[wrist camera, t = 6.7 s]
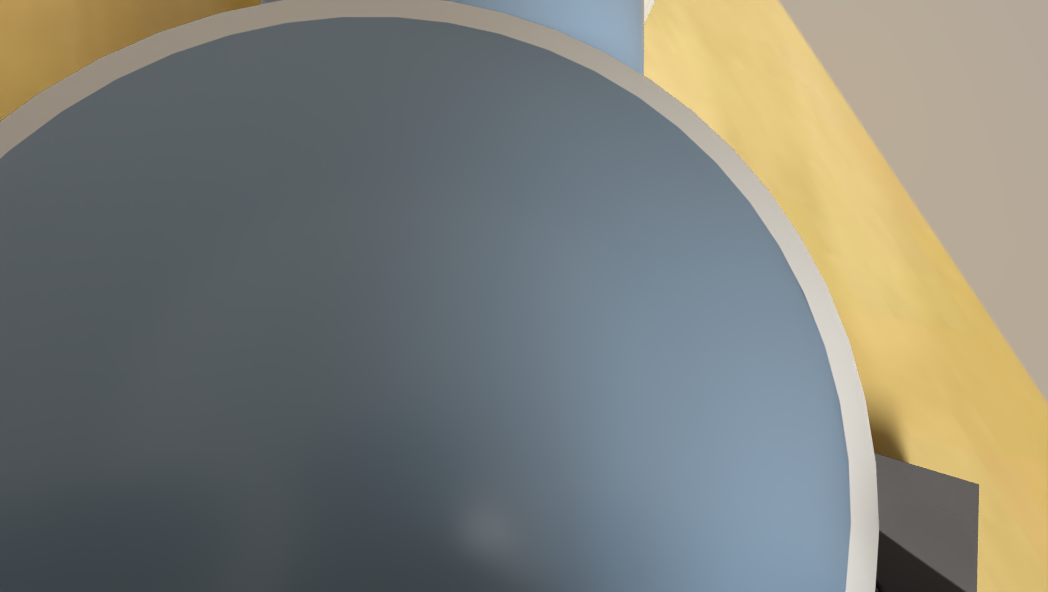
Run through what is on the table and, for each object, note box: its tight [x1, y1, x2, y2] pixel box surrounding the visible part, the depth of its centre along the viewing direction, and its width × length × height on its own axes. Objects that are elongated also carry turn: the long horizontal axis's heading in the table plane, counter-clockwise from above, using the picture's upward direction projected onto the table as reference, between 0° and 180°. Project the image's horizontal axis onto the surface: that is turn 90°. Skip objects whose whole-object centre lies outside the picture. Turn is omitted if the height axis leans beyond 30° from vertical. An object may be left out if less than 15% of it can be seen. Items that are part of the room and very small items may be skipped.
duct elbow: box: [0, 0, 879, 592], centre depth 9 cm, size 10×6×12 cm, turn 176°
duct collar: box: [874, 453, 979, 592], centre depth 20 cm, size 24×14×4 cm, turn 74°
